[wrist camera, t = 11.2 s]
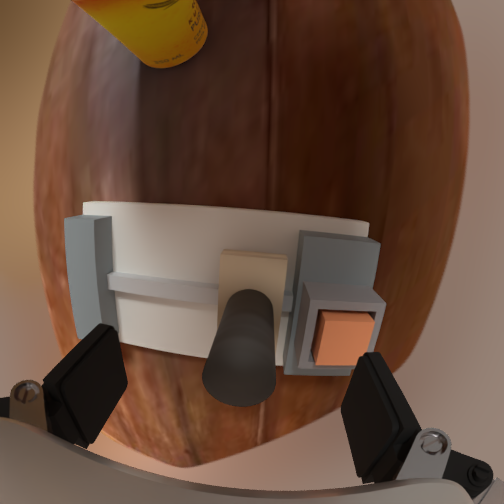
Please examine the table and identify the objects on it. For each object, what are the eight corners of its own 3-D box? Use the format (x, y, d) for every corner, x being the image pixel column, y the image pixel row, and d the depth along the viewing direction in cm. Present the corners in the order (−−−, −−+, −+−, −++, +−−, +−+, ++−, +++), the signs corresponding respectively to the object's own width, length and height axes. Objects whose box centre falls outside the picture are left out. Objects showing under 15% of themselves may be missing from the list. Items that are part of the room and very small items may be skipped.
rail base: (92, 201, 21) (37, 208, 14) (362, 220, 20) (404, 235, 13) (101, 328, 23) (61, 365, 16) (336, 357, 22) (355, 411, 16)
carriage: (226, 246, 19) (188, 298, 10) (285, 251, 19) (301, 309, 10) (221, 336, 20) (193, 427, 11) (274, 341, 20) (276, 436, 11)
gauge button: (314, 295, 17) (325, 320, 13) (356, 297, 17) (375, 322, 13) (307, 334, 17) (315, 365, 14) (347, 336, 17) (362, 365, 14)
